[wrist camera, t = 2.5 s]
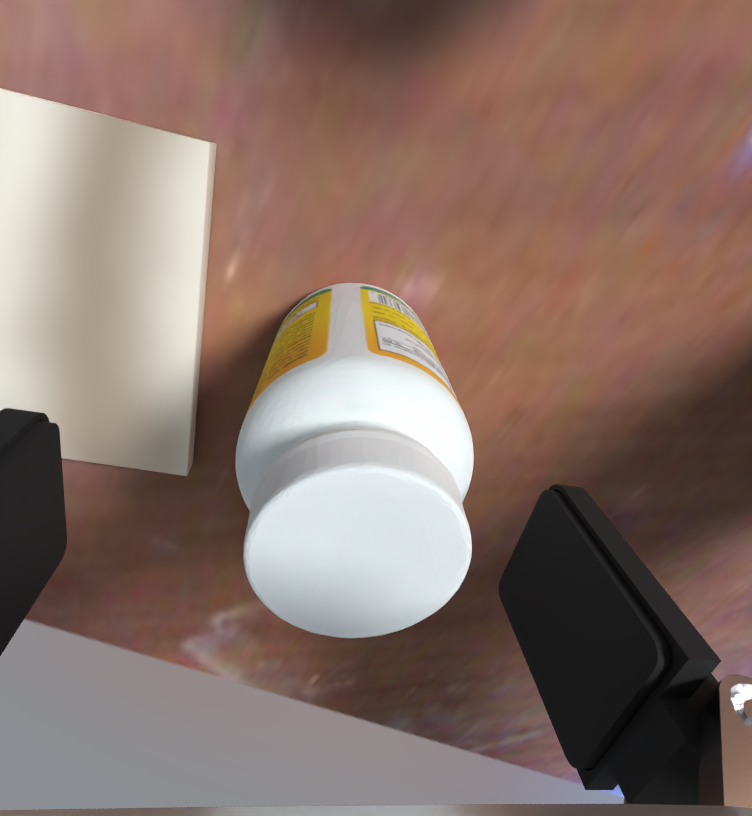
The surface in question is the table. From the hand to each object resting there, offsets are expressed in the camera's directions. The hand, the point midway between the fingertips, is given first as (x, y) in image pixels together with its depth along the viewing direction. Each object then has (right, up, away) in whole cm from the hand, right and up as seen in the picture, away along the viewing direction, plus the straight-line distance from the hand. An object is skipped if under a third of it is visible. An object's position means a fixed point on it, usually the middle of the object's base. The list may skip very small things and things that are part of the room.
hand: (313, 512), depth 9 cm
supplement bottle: (0, +4, +7) cm, 8 cm away
